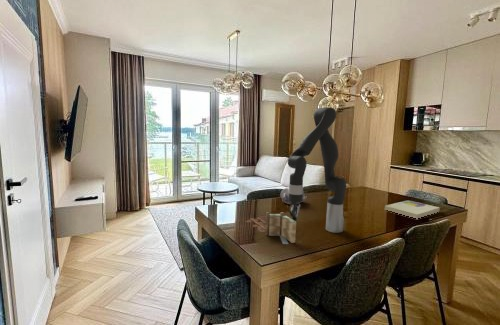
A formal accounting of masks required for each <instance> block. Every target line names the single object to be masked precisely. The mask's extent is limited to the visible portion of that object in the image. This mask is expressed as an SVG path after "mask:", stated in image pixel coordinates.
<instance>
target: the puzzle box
mask: <svg viewBox="0 0 500 325" xmlns="http://www.w3.org/2000/svg"><path fill="white" fill-rule="evenodd" d="M440 209H441V208H440V207H439V206H434V205H430V204H426V203H421V202H417V201H413V200H403V201H400V202H394V203H391V204H386V205H384V211H385V210H388V211H392V212H395V213H398V214H397V215H399V214H402V215H401V216H403V215H405V216H404V217H406V216H409V217H408V218H410V217H413V218H416V219H415V220H419V219H418V218H420V219H422V218H421V217H424V216H427V215H430V216H432V215H431V214H433V215H435V214H438V213H440ZM388 211H387V212H388ZM392 212H391V213H392ZM437 212H438V213H437ZM395 213H394V214H395ZM434 213H435V214H434ZM427 217H428V216H427ZM413 218H412V219H413ZM424 218H425V217H424Z"/></svg>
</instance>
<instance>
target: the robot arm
mask: <svg viewBox="0 0 500 325" xmlns="http://www.w3.org/2000/svg"><path fill="white" fill-rule="evenodd" d="M336 118H337V111H336V109H335V108H333V107H331V106H330V107H328V106H327V107H319V108H316V109H315V111H314V112H313V120H314V125H315V127H314V129H312V130H311V131H310V132H309V133H308V134H306V135H305V137H304V138H303V139H302V141H301V142H300V144H299V146H298V147H297V148H296V149H295V150H294V151H293V152H292V153H291V154H290V155H289V158H288V160H287V165H288V167H289V168H290V169H294V172H292V173H290V175H289V185H288V187H289V201H290V202H292V203H291V204H290V208H289V209H288V211H289V215H290V218H291V217H292V218H291V219H293V220H295V221H296V224H297V223H298V216H299V215H300V210H301V207H302V205H301V204H300V203H302V202H304V201H303V193H304V185H303V184H304V183H303V182H304V177H305V176H304V175H305V171H306V169H307V160H306V158H305V157H307V156H309V155H310V154H311V153H312V151H313V149H314V147H315V146H316V144H317V143H318V142H319V145H320V152H321V157H322V162H323V163H322V164H323V170H324V171H323V172H324V181H325V182H324V183H325V188H326V189H327V190H329V191H331V192H333V194H334V195H333V196H328V198H327V201H326V203H327V204H326V217H325V218H326V219H325V230H326V231H328V232H330V233H335V234H337V233H338V234H339V233H342V232H343V231H344V219H345V217H344V215H343V213H344V212H343V211H344V202H345V200H346V199H345V198H346V191H347V181H346V179H345V178H343V177H340V176H336V174H335V166H336V164H337V162H338V159H339V150H338V149H339V148H338V144H337V142H336V140H335V139H334V138H333V136H332V135H331V133H330V130H329V128H330V127H331V126H332V125H333V123H334V122H335V121H336ZM299 202H300V203H299Z"/></svg>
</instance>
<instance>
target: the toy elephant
mask: <svg viewBox="0 0 500 325" xmlns="http://www.w3.org/2000/svg"><path fill="white" fill-rule="evenodd" d="M279 196H280V198H281V199H282V202H284V203H285V204H287V205H291V203H292V202H290V201H289V186H287V187H285V188H283V189H282V190H281V191H280V194H279ZM307 197H308V196H307V195H306V196H305V192H303V201H302V202H304V201H306V199H307ZM300 203H301V202H299V204H300Z"/></svg>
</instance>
